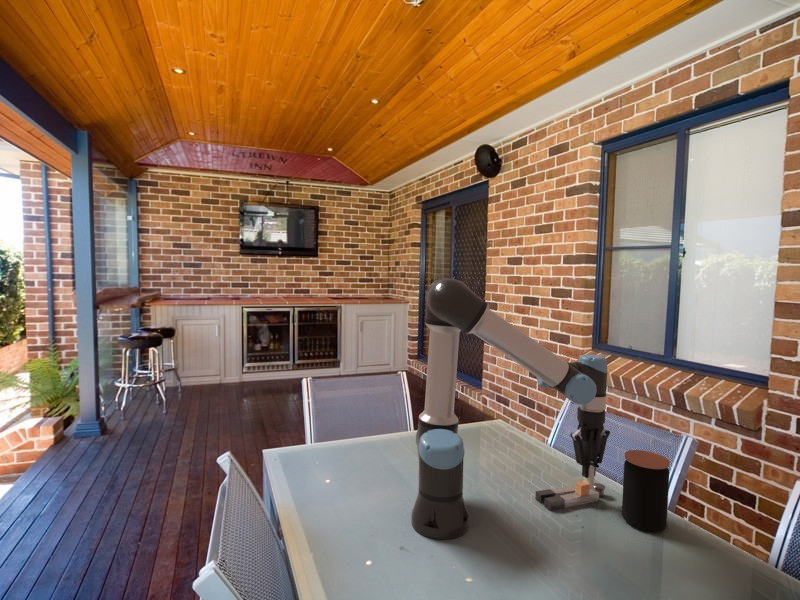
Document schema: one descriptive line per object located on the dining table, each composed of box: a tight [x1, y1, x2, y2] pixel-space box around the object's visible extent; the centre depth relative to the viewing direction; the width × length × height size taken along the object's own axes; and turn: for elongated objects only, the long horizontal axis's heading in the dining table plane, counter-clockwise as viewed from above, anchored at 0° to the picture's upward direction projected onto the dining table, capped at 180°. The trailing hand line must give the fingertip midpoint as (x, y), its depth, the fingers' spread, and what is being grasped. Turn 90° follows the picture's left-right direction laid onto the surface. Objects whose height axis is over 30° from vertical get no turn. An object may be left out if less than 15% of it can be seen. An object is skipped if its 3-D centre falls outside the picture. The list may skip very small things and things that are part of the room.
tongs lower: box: [543, 482, 606, 512], centre depth 133 cm, size 22×5×3 cm, turn 111°
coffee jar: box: [621, 449, 671, 534], centre depth 121 cm, size 11×11×18 cm
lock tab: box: [574, 480, 589, 496], centre depth 132 cm, size 3×2×3 cm
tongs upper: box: [535, 485, 575, 505], centre depth 134 cm, size 18×2×2 cm, turn 107°
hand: (588, 487), depth 133 cm, fingers closed
